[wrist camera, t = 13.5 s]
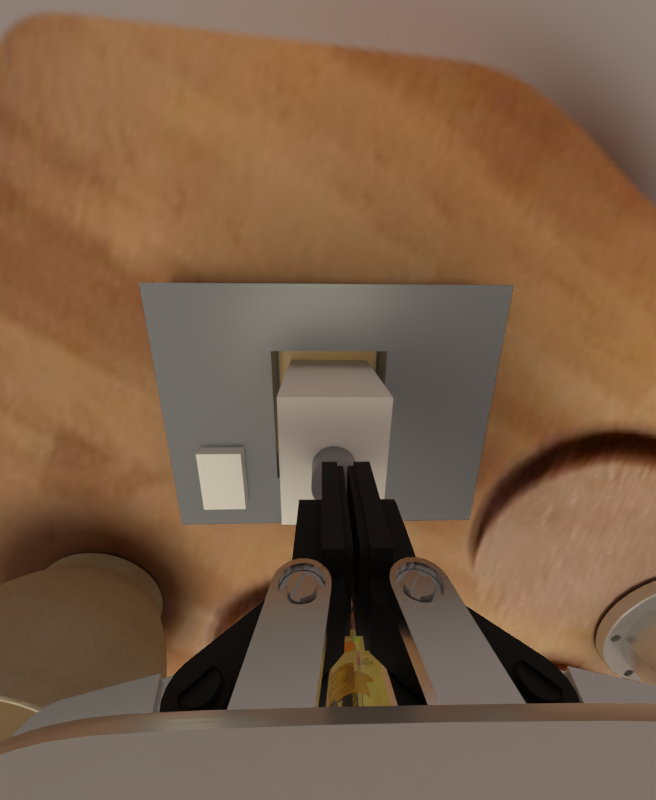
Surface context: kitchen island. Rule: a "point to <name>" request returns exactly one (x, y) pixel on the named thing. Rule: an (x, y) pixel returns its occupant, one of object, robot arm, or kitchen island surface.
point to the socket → (322, 340)
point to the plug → (329, 426)
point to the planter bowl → (76, 633)
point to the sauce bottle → (357, 676)
